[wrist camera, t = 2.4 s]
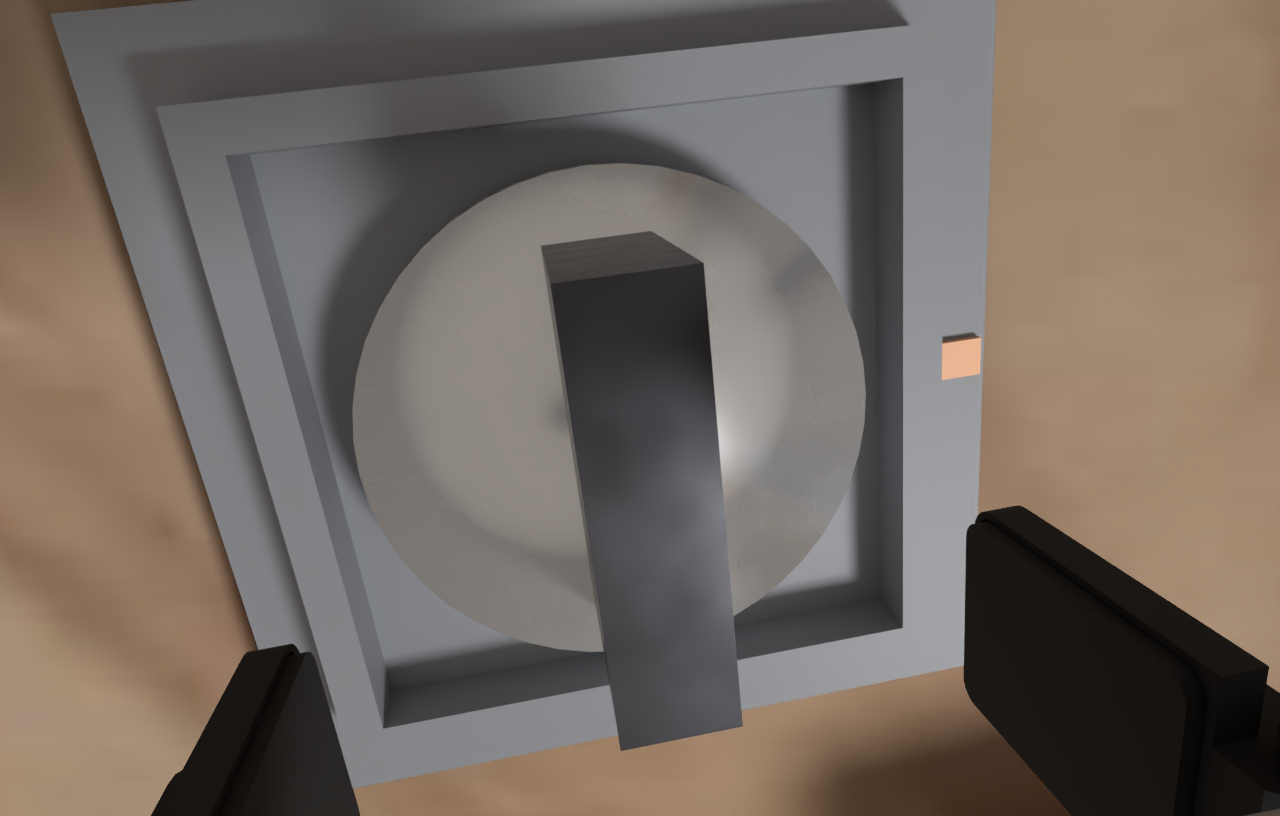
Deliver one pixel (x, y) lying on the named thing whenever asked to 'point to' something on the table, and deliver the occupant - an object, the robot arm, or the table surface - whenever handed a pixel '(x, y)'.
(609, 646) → the dial
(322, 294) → the dial housing
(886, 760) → the table surface
